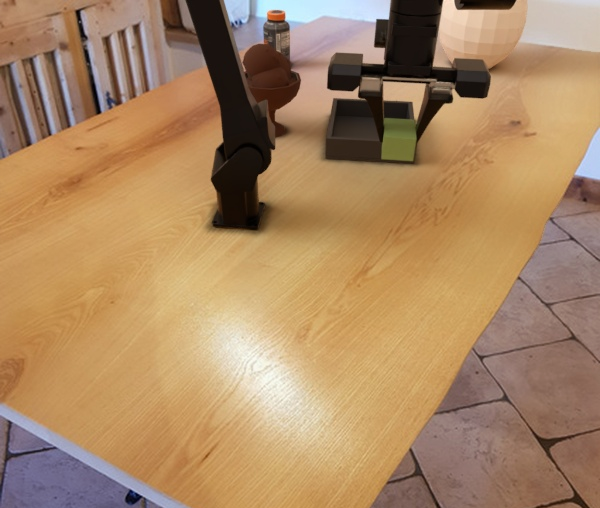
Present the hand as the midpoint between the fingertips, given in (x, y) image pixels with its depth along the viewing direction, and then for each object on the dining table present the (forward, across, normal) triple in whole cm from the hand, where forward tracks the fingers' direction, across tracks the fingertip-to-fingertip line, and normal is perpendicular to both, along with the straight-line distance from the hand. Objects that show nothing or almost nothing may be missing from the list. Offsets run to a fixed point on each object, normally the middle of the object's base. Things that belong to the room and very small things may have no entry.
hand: (398, 142), depth 71 cm
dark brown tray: (+11, +4, -25) cm, 27 cm away
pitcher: (+11, -19, -68) cm, 71 cm away
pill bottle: (+11, +26, -61) cm, 68 cm away
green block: (+1, 0, 0) cm, 1 cm away
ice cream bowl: (+11, +22, -25) cm, 35 cm away
